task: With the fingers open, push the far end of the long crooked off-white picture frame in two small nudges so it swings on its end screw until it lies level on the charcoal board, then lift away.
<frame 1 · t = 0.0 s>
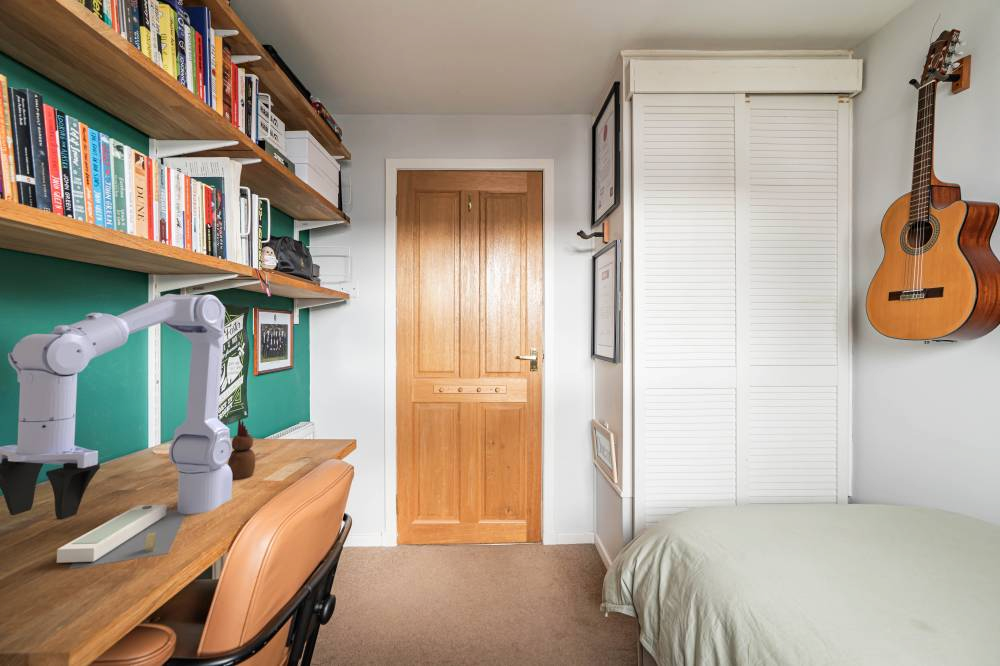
hand: (43, 514, 64), 10 cm above the table, tool pointing down, fingers open, 7 cm apart
frame: (118, 529, 77), point 2 cm above the table, hinge at -20.0°
board: (137, 539, 78), on the table
wooden figurine: (241, 480, 112), on the table
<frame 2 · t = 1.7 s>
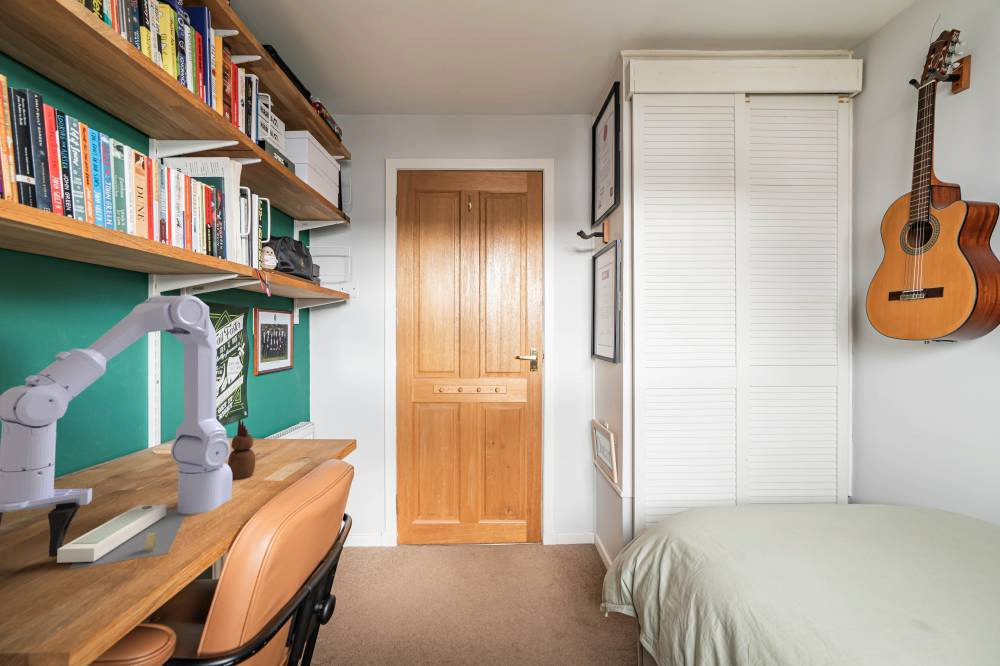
hand: (23, 558, 67), 2 cm above the table, tool pointing down, fingers open, 6 cm apart
frame: (118, 529, 77), point 2 cm above the table, hinge at -19.9°, touching gripper
everything else where it was.
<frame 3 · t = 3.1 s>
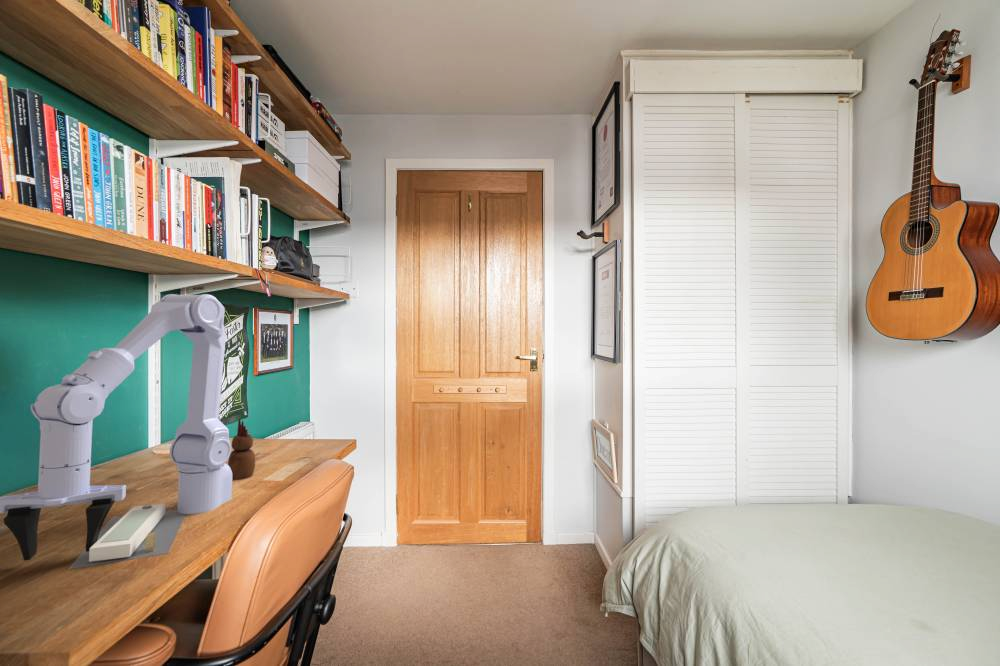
hand: (61, 552, 69), 2 cm above the table, tool pointing down, fingers open, 6 cm apart
frame: (131, 528, 77), point 2 cm above the table, hinge at -4.8°, touching gripper
everything else where it was.
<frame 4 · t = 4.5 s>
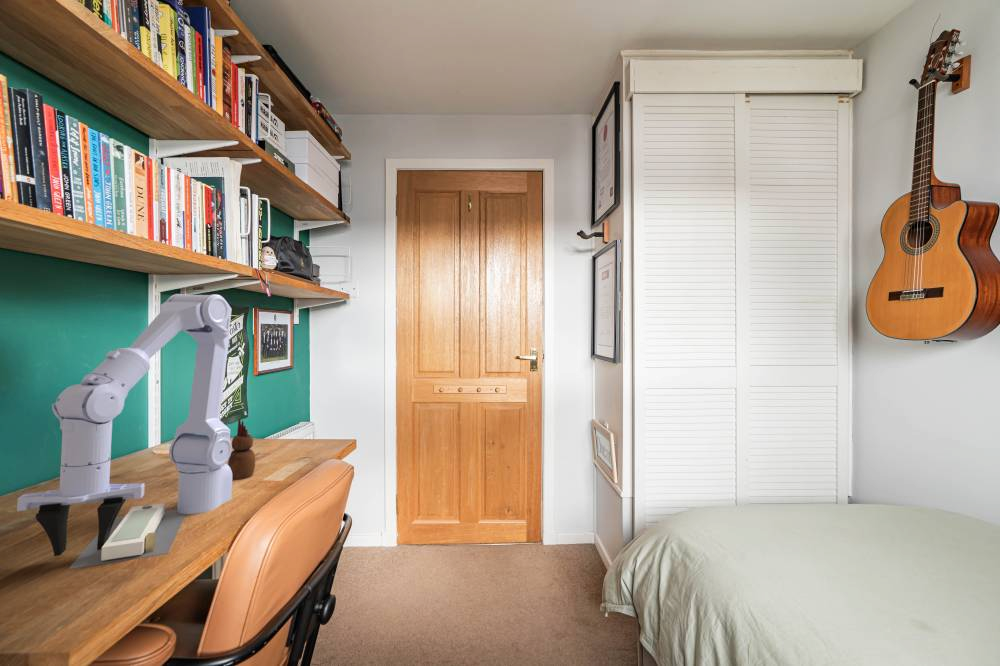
hand: (81, 549, 70), 2 cm above the table, tool pointing down, fingers open, 4 cm apart
frame: (136, 528, 78), point 2 cm above the table, hinge at 0.5°, touching gripper
everything else where it was.
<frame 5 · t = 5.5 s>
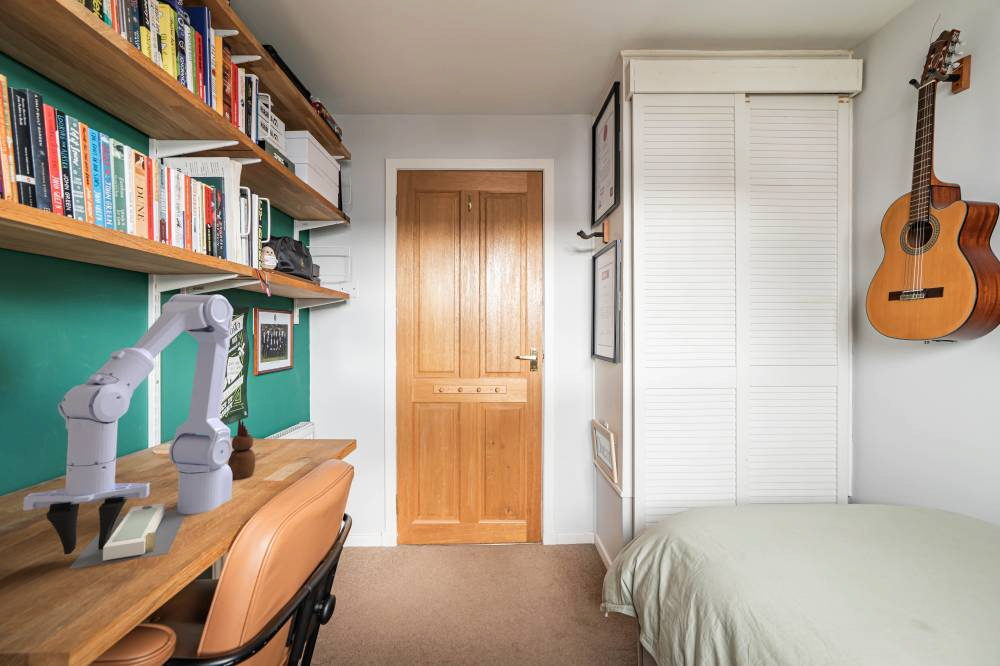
hand: (87, 549, 70), 2 cm above the table, tool pointing down, fingers open, 3 cm apart
frame: (137, 527, 78), point 2 cm above the table, hinge at 1.1°, touching board, gripper
everything else where it was.
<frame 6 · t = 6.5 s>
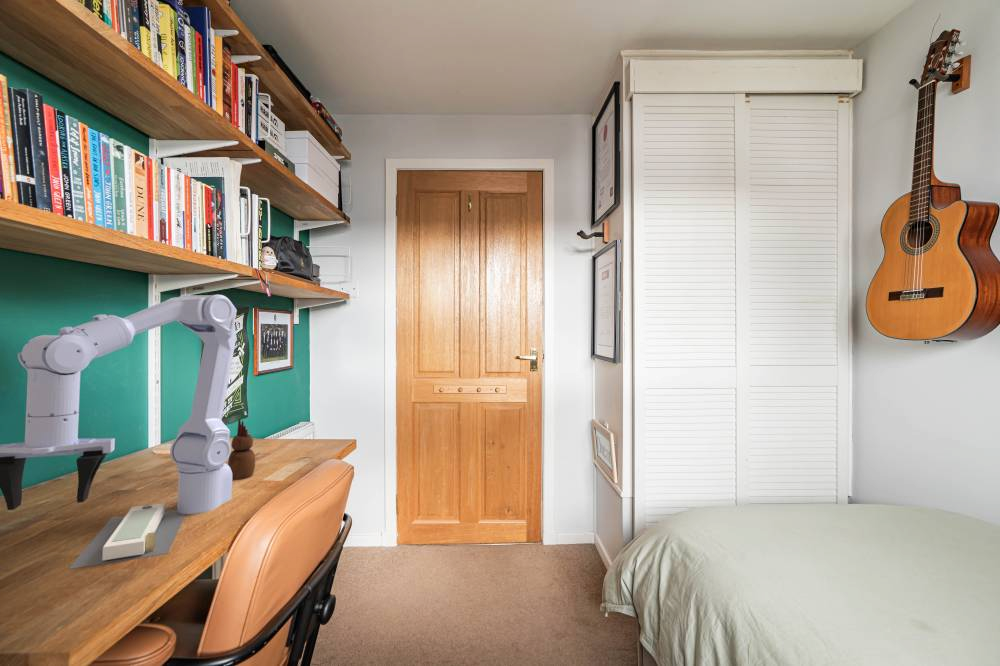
hand: (49, 503, 68), 10 cm above the table, tool pointing down, fingers open, 7 cm apart
frame: (137, 527, 78), point 2 cm above the table, hinge at 1.0°
everything else where it was.
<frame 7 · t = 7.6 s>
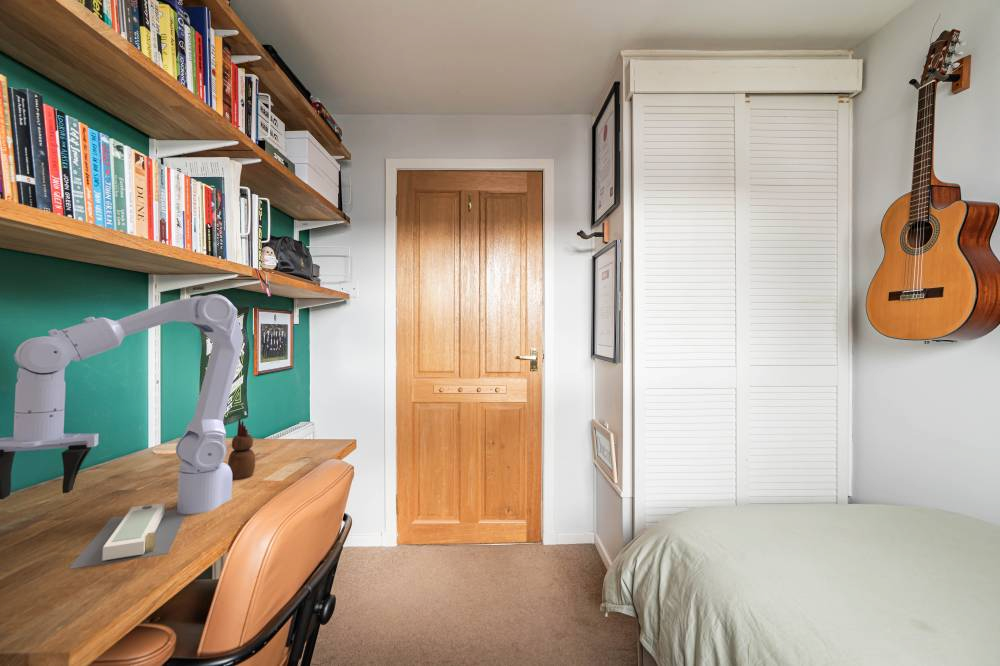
hand: (36, 494, 73), 9 cm above the table, tool pointing down, fingers open, 7 cm apart
nothing on the table moved.
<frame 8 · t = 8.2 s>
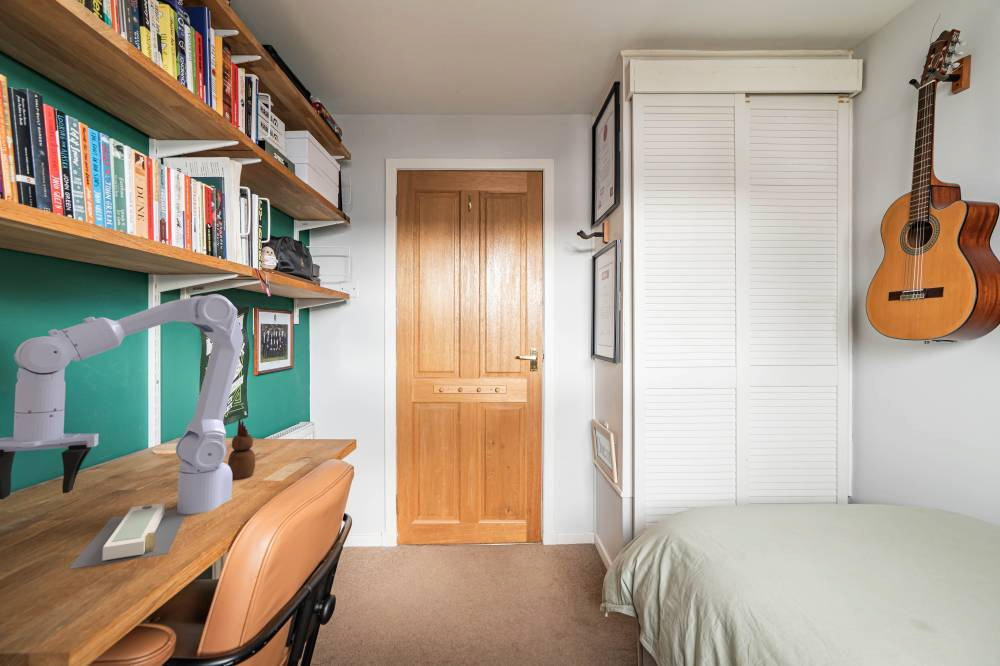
hand: (36, 494, 73), 9 cm above the table, tool pointing down, fingers open, 7 cm apart
nothing on the table moved.
at the end: frame at +1° (first picture: -20°); the gripper is holding nothing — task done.
